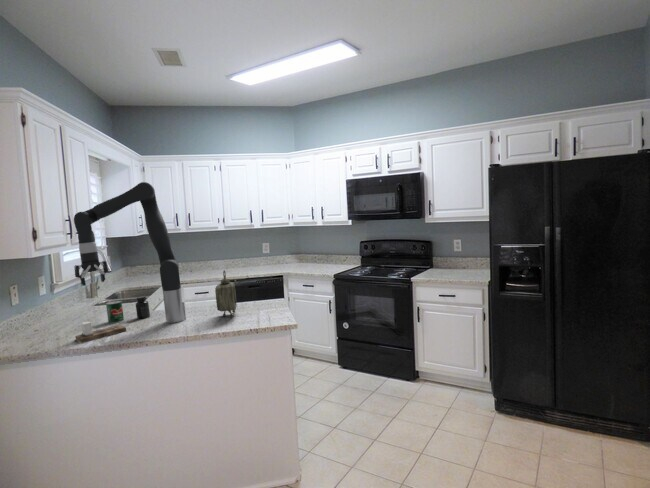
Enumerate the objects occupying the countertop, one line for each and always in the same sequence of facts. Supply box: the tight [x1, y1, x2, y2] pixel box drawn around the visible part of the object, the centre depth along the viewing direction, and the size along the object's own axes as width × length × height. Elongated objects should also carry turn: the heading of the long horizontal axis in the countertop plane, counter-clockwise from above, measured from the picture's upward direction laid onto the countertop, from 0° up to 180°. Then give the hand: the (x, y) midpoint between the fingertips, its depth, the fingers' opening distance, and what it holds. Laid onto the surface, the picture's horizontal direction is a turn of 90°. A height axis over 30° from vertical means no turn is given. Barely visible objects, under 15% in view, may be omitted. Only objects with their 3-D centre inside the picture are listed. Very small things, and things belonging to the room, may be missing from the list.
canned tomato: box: [105, 300, 125, 324], centre depth 217 cm, size 8×8×11 cm
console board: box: [74, 324, 127, 344], centre depth 191 cm, size 20×9×2 cm, turn 138°
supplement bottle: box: [135, 295, 151, 320], centre depth 221 cm, size 7×7×12 cm
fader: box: [80, 321, 94, 336], centre depth 186 cm, size 3×7×6 cm, turn 48°
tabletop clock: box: [214, 269, 238, 319], centre depth 209 cm, size 14×9×25 cm, turn 9°
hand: (93, 283), depth 194 cm, fingers open, 8 cm apart
